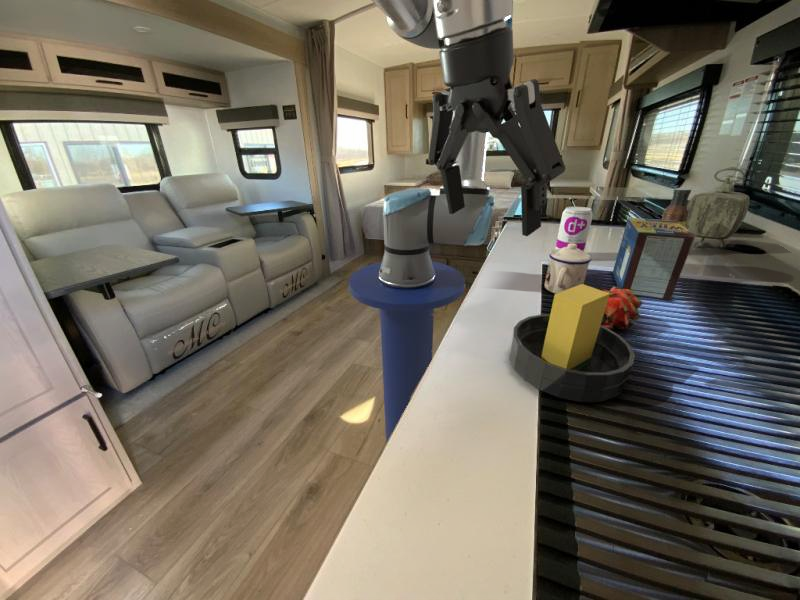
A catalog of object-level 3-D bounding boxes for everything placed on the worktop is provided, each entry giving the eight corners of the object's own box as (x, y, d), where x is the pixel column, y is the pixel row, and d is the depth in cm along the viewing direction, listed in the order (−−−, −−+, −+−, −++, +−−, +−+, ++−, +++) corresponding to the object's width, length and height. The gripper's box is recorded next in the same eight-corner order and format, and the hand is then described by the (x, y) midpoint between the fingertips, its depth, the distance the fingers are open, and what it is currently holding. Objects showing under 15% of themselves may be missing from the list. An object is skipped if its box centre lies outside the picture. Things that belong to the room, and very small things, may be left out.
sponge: (539, 364, 55) (554, 294, 49) (565, 351, 58) (582, 283, 52) (563, 379, 52) (582, 305, 46) (589, 364, 55) (610, 293, 49)
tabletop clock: (731, 248, 111) (766, 168, 100) (725, 254, 106) (762, 170, 94) (678, 239, 121) (705, 166, 110) (671, 244, 116) (698, 167, 104)
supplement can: (580, 262, 100) (592, 212, 94) (551, 257, 104) (561, 209, 98) (583, 254, 107) (595, 207, 100) (556, 251, 111) (565, 205, 104)
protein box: (656, 277, 89) (676, 220, 82) (671, 301, 76) (696, 235, 69) (611, 272, 93) (627, 216, 86) (618, 293, 80) (638, 230, 73)
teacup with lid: (548, 279, 89) (556, 237, 84) (585, 286, 84) (597, 242, 79) (535, 295, 80) (544, 249, 75) (576, 304, 75) (589, 256, 70)
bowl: (528, 330, 66) (532, 305, 63) (629, 361, 56) (639, 333, 54) (493, 375, 54) (497, 346, 51) (615, 424, 44) (627, 392, 42)
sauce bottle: (678, 252, 107) (702, 189, 99) (671, 256, 104) (695, 191, 95) (654, 248, 112) (675, 186, 103) (647, 251, 109) (668, 188, 100)
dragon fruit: (621, 321, 71) (599, 350, 65) (592, 292, 73) (567, 317, 67) (658, 302, 64) (637, 332, 58) (624, 270, 66) (601, 296, 60)
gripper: (380, 60, 42) (416, 213, 55) (564, 14, 24) (553, 258, 37) (425, 44, 44) (449, 194, 57) (621, -8, 26) (593, 227, 39)
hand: (490, 219), depth 47 cm, fingers open, 13 cm apart
